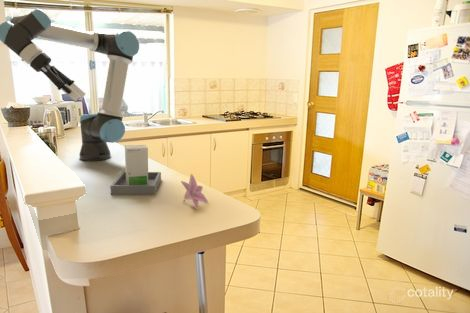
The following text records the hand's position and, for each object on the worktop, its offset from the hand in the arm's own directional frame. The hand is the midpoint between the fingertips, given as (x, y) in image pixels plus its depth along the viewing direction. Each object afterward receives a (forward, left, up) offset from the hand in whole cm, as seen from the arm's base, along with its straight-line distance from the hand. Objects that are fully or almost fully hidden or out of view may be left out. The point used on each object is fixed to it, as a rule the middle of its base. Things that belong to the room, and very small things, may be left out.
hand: (80, 97), depth 141 cm
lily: (+34, +48, -34) cm, 68 cm away
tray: (+15, +25, -34) cm, 45 cm away
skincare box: (+15, +25, -33) cm, 44 cm away
